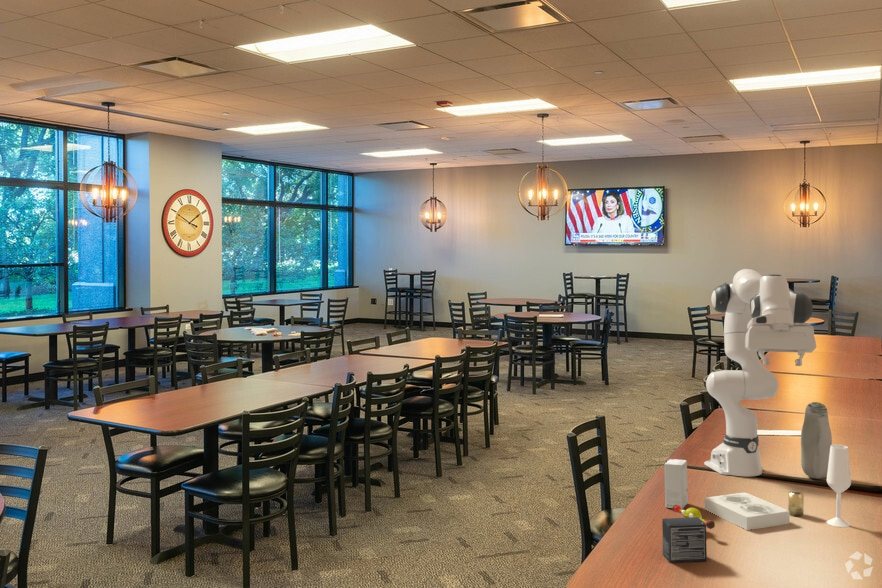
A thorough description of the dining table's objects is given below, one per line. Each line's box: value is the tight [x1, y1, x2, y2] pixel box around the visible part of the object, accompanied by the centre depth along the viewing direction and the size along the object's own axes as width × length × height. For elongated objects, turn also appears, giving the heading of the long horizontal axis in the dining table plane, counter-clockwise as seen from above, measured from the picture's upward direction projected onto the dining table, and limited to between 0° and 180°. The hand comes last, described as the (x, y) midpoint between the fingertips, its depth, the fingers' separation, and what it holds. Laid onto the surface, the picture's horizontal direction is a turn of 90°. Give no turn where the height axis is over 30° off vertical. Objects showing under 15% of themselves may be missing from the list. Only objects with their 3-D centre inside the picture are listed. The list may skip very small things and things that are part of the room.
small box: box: [661, 517, 708, 564], centre depth 212 cm, size 11×6×10 cm, turn 92°
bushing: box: [787, 490, 805, 518], centre depth 245 cm, size 4×4×7 cm
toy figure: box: [671, 505, 716, 530], centre depth 233 cm, size 18×6×7 cm, turn 21°
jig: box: [704, 492, 791, 531], centre depth 244 cm, size 20×16×4 cm
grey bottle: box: [800, 401, 833, 480], centre depth 283 cm, size 10×10×28 cm
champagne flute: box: [825, 444, 852, 528], centre depth 236 cm, size 7×7×24 cm
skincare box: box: [664, 458, 689, 510], centre depth 255 cm, size 8×6×15 cm
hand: (782, 365), depth 235 cm, fingers open, 8 cm apart
